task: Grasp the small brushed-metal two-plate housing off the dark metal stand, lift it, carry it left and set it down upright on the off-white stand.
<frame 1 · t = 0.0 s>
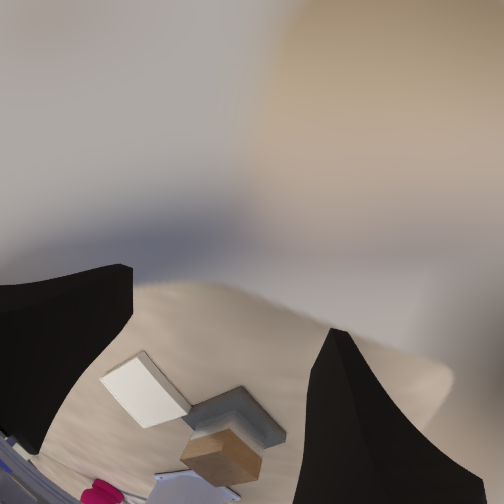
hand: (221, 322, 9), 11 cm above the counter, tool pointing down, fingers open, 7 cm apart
housing: (231, 431, 22), point 1 cm above the counter, touching stand a
pepper mill: (110, 488, 33), on the counter
stand a: (234, 423, 23), on the counter
white figurine with star: (25, 440, 38), on the counter
stand b: (145, 390, 24), on the counter
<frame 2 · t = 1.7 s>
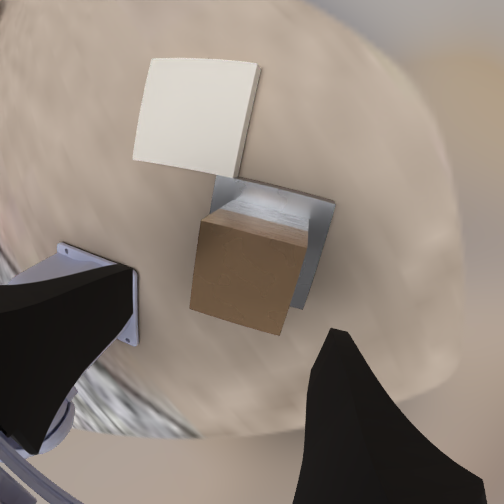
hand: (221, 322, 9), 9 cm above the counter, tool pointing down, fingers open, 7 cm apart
housing: (262, 245, 17), point 1 cm above the counter, touching stand a
stand a: (265, 239, 18), on the counter
stand b: (196, 113, 16), on the counter
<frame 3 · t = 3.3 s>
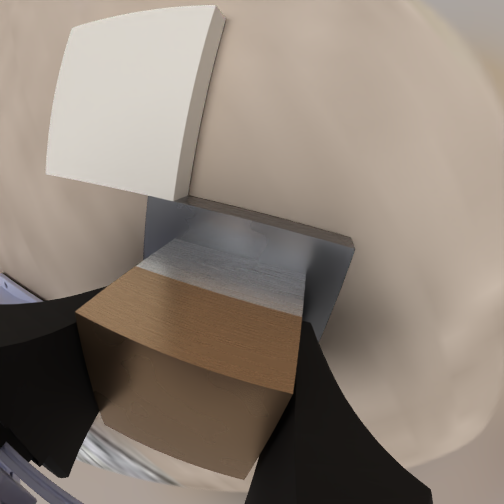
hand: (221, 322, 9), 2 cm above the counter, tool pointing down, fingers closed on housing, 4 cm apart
housing: (226, 312, 10), point 1 cm above the counter, touching gripper, stand a
stand a: (235, 296, 11), on the counter
stand b: (126, 97, 9), on the counter
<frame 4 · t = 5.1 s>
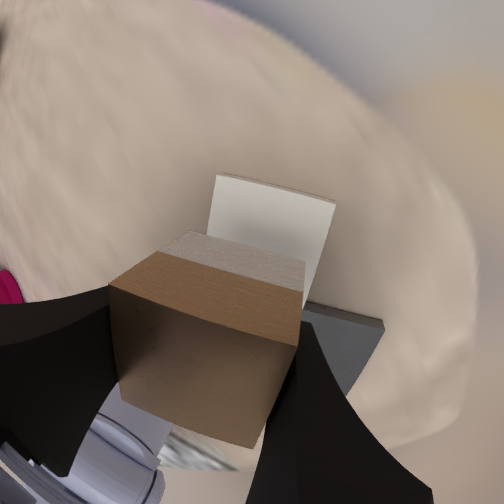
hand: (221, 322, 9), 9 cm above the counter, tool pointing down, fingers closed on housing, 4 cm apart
housing: (235, 297, 11), point 7 cm above the counter, touching gripper
pepper mill: (12, 289, 28), on the counter
stand a: (321, 347, 20), on the counter
stand b: (265, 239, 18), on the counter
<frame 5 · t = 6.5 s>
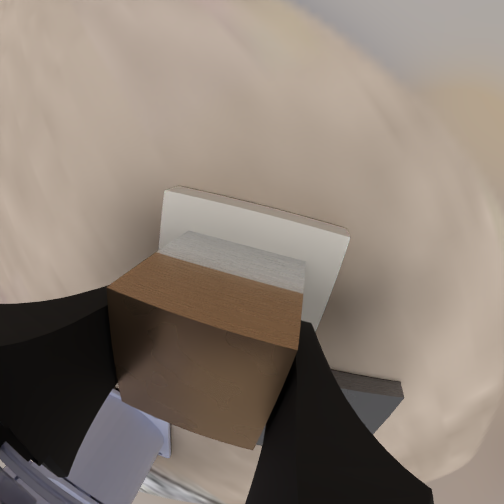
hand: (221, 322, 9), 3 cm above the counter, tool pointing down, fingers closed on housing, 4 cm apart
housing: (234, 297, 11), point 1 cm above the counter, touching gripper, stand b
stand a: (319, 411, 14), on the counter
stand b: (242, 283, 12), on the counter
when the fingers open (3 cm above the counter, at t = 7.1 s): housing stays where it is, resting on stand b.
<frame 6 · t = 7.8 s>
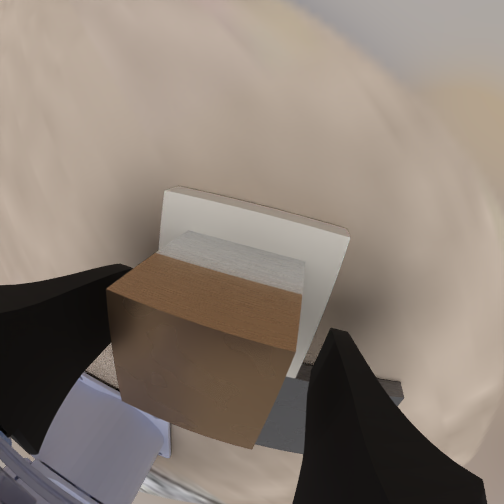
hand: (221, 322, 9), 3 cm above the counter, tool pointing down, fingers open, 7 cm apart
housing: (234, 297, 11), point 1 cm above the counter, touching stand b
stand a: (319, 411, 14), on the counter
stand b: (242, 283, 12), on the counter
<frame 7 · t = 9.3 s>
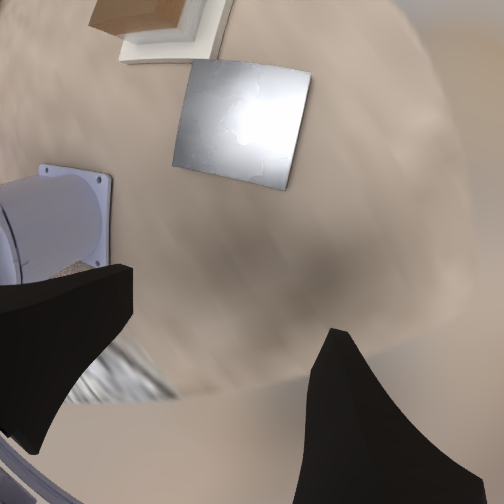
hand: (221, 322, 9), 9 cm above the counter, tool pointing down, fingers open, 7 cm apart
housing: (171, 15, 13), point 1 cm above the counter, touching stand b
stand a: (242, 120, 16), on the counter
stand b: (179, 20, 14), on the counter
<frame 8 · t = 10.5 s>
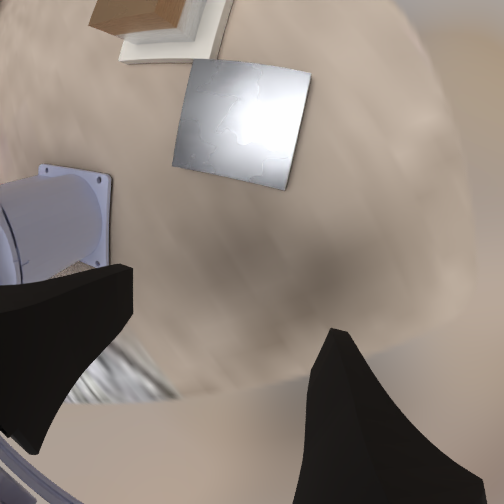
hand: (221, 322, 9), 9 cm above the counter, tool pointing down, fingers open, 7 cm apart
housing: (171, 15, 13), point 1 cm above the counter, touching stand b
stand a: (242, 120, 16), on the counter
stand b: (179, 20, 14), on the counter
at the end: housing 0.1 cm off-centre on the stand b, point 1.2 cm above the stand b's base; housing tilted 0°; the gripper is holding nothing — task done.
